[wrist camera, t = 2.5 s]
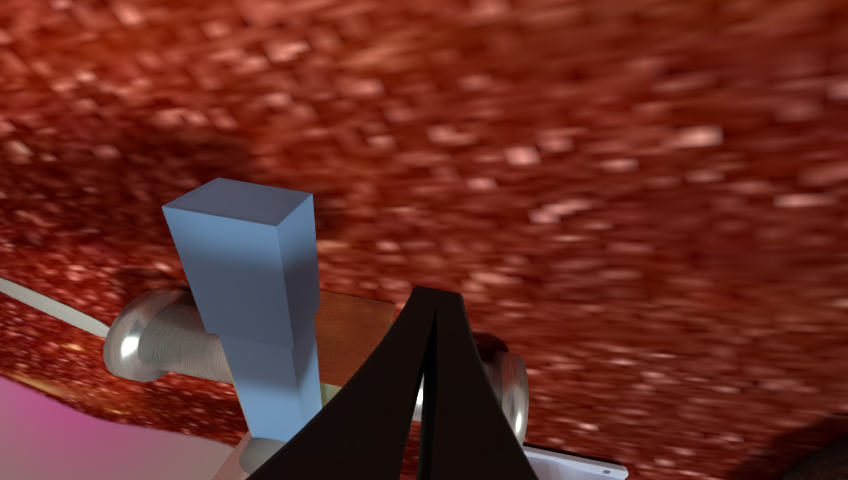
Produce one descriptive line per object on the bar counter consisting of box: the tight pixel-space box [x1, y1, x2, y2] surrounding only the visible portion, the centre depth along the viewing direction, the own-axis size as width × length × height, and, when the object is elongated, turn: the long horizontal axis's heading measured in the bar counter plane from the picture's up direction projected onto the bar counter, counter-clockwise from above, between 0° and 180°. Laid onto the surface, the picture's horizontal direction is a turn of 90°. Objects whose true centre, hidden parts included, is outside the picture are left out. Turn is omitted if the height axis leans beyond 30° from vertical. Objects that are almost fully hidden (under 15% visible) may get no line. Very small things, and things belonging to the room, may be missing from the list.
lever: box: [161, 178, 322, 475], centre depth 11 cm, size 13×3×2 cm, turn 173°
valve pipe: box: [103, 288, 529, 447], centre depth 17 cm, size 20×6×5 cm, turn 83°
